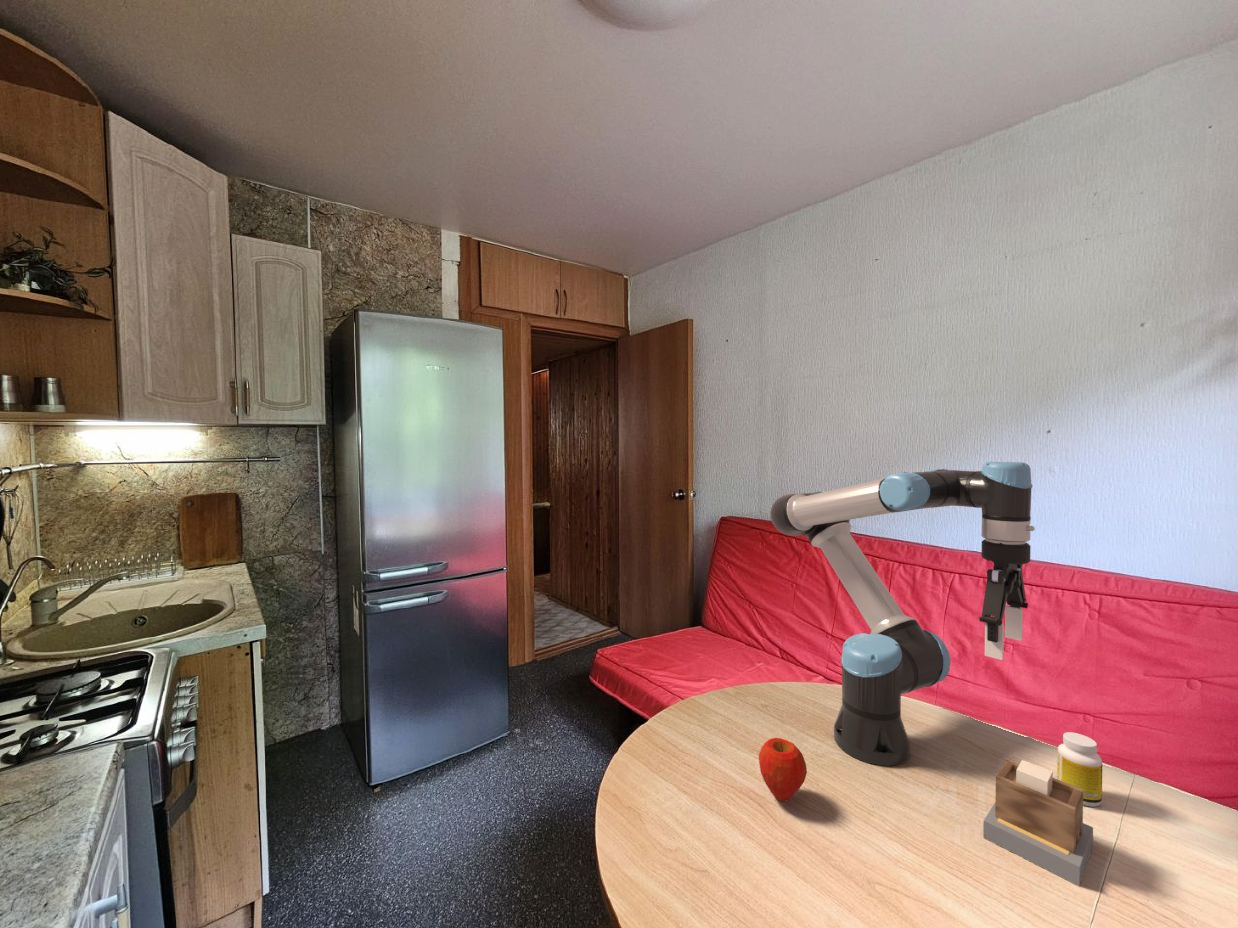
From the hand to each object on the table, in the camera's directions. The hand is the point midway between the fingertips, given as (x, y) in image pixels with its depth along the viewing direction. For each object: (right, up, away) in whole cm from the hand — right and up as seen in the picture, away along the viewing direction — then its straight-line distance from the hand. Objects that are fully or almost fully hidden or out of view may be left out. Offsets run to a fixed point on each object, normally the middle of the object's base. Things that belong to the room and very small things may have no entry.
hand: (1004, 647), depth 96 cm
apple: (-45, -28, -3) cm, 53 cm away
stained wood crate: (-6, -24, -14) cm, 29 cm away
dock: (-5, -27, -14) cm, 31 cm away
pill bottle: (+11, -27, -4) cm, 29 cm away
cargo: (-6, -18, -14) cm, 24 cm away
